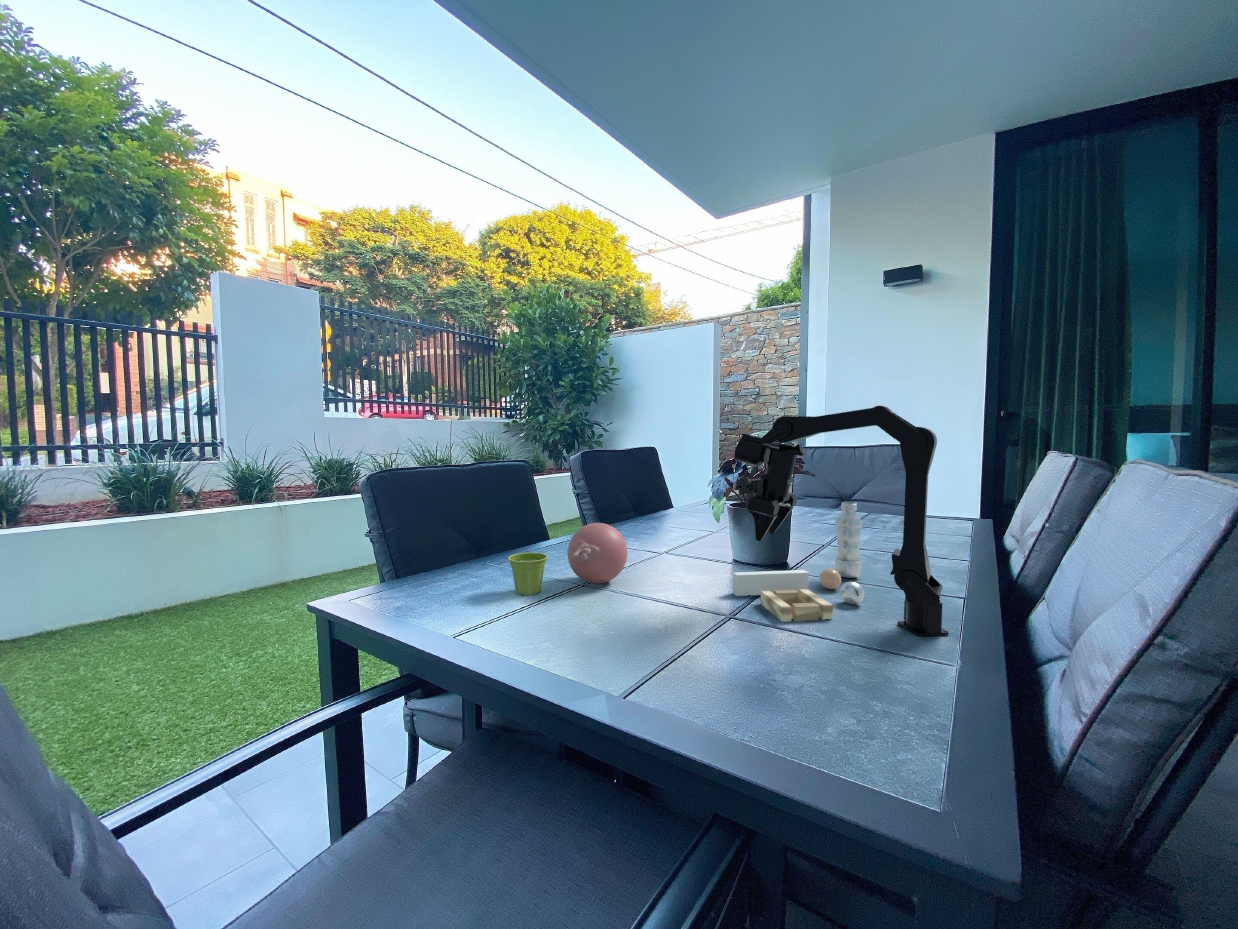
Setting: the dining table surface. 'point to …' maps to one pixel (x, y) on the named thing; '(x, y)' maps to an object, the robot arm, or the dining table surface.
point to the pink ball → (597, 553)
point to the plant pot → (528, 572)
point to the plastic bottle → (848, 541)
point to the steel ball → (852, 592)
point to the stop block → (769, 581)
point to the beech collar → (796, 605)
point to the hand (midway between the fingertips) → (765, 537)
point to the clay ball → (830, 578)
